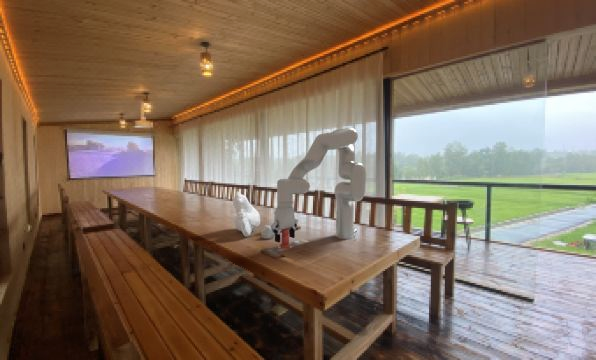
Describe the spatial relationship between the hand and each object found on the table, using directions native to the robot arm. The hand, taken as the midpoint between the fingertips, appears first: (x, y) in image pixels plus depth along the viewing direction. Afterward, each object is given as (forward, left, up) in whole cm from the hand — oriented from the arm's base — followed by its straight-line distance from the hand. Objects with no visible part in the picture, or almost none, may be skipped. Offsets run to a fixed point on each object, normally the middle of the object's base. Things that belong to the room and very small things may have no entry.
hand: (285, 239), depth 129 cm
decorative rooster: (-3, -38, -5) cm, 38 cm away
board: (-3, 0, -5) cm, 6 cm away
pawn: (0, 0, -4) cm, 4 cm away
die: (-5, -18, -5) cm, 19 cm away
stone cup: (-22, -22, -5) cm, 32 cm away
